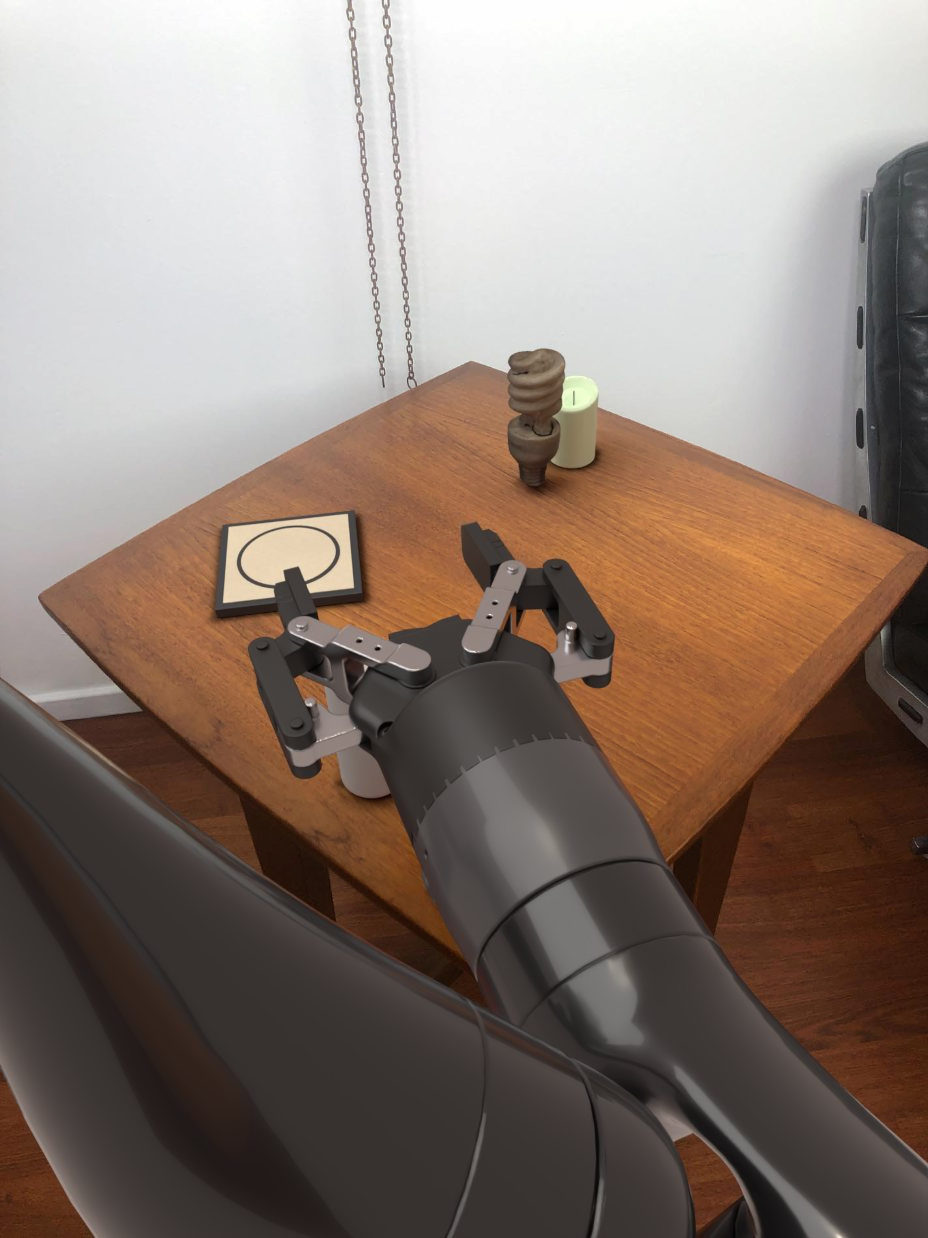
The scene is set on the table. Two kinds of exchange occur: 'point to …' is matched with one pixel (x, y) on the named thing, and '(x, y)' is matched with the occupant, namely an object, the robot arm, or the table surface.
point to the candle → (577, 423)
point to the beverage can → (357, 760)
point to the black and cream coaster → (288, 561)
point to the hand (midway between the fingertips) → (382, 559)
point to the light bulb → (535, 410)
